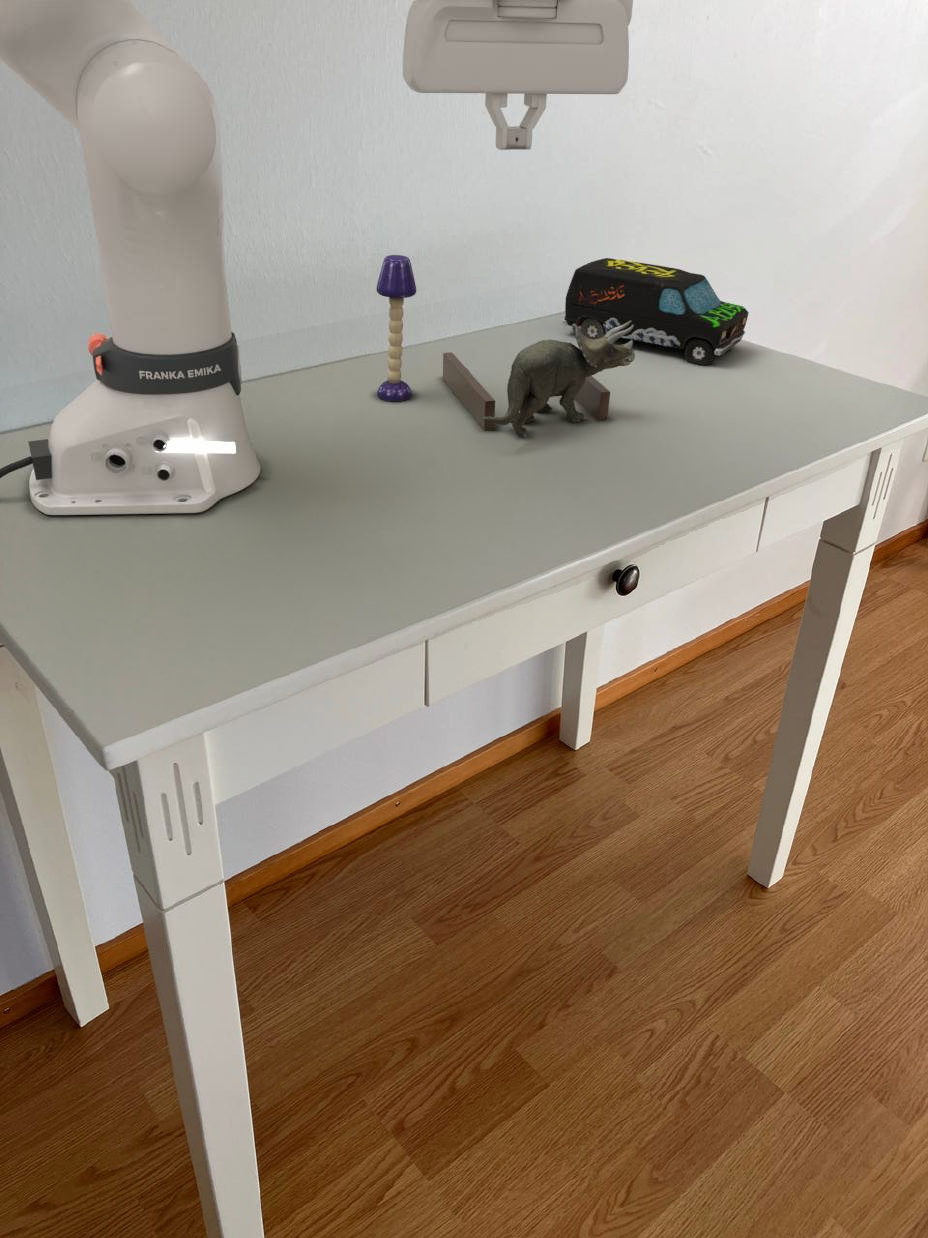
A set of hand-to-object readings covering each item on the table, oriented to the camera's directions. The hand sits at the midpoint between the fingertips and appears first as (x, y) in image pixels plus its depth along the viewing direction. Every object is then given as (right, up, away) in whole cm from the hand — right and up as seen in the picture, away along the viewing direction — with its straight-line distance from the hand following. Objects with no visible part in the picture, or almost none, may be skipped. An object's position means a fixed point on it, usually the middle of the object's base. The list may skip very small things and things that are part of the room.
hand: (513, 148), depth 94 cm
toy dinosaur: (+4, -20, +27) cm, 34 cm away
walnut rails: (+3, -16, +33) cm, 37 cm away
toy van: (+23, -3, +55) cm, 59 cm away
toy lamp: (-13, -16, +33) cm, 39 cm away
